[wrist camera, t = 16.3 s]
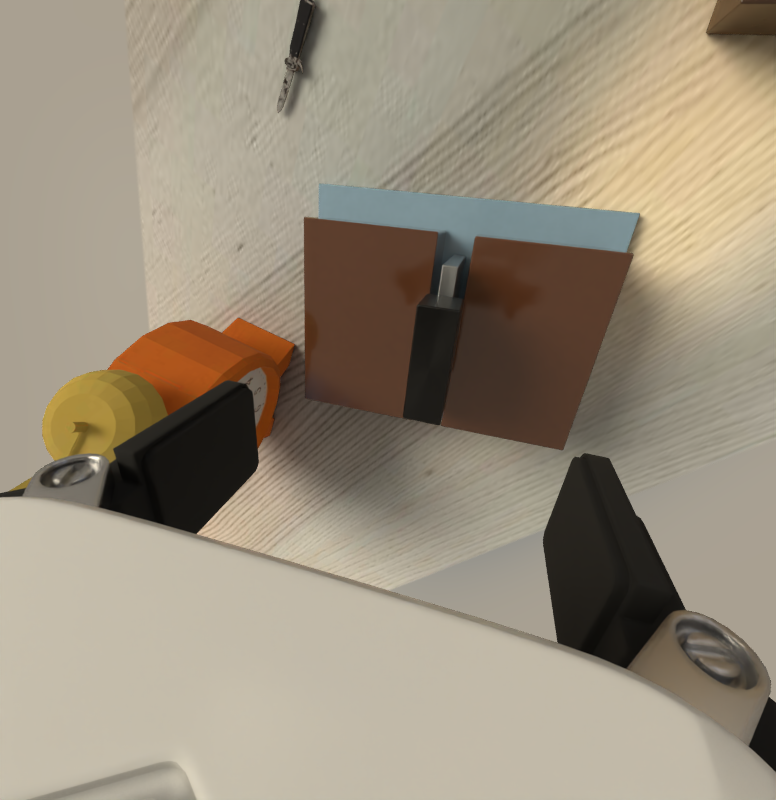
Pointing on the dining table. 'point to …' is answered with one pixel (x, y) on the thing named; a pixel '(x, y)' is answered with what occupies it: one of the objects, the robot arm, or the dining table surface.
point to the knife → (296, 47)
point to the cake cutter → (434, 346)
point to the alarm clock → (163, 385)
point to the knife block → (743, 17)
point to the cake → (482, 310)
